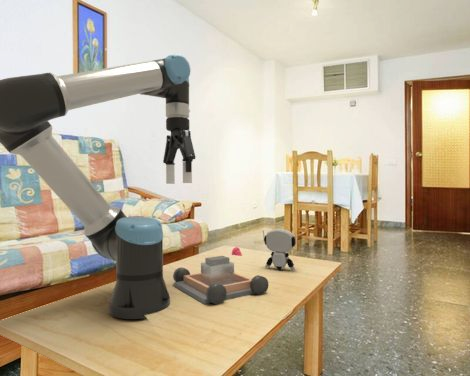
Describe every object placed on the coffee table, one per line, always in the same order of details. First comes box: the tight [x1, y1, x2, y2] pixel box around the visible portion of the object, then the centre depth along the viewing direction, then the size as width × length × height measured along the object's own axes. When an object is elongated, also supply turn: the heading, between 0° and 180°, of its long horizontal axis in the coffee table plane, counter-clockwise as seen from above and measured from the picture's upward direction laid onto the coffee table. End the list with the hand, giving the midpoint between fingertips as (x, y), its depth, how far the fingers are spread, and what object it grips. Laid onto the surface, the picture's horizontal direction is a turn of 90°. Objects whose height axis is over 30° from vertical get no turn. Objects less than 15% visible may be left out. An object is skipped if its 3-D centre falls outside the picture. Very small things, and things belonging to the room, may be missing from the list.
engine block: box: [200, 255, 235, 286], centre depth 104 cm, size 8×6×8 cm
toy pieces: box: [231, 246, 243, 257], centre depth 148 cm, size 12×11×4 cm
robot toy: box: [262, 228, 297, 272], centre depth 126 cm, size 12×4×15 cm, turn 64°
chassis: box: [172, 267, 269, 305], centre depth 104 cm, size 20×24×5 cm
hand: (178, 183), depth 113 cm, fingers open, 13 cm apart
